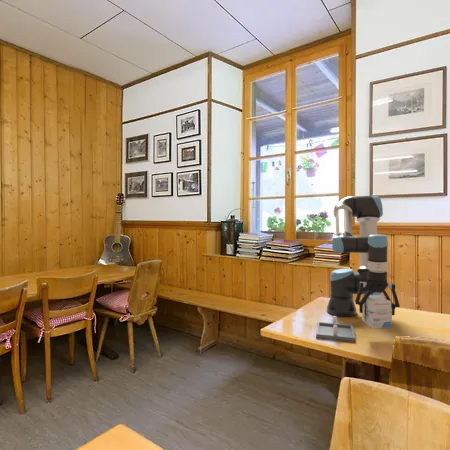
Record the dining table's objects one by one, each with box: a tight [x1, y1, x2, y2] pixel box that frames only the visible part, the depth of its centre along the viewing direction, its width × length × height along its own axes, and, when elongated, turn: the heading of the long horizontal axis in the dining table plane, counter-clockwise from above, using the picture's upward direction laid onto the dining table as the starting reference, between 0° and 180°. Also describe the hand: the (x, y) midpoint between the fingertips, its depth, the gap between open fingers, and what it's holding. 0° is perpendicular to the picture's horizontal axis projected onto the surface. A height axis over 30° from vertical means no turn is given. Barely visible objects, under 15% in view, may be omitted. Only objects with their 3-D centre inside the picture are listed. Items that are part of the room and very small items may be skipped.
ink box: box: [362, 294, 392, 329], centre depth 139 cm, size 8×8×12 cm
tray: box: [315, 315, 356, 343], centre depth 146 cm, size 16×16×6 cm
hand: (376, 321), depth 140 cm, fingers closed on ink box, 10 cm apart
